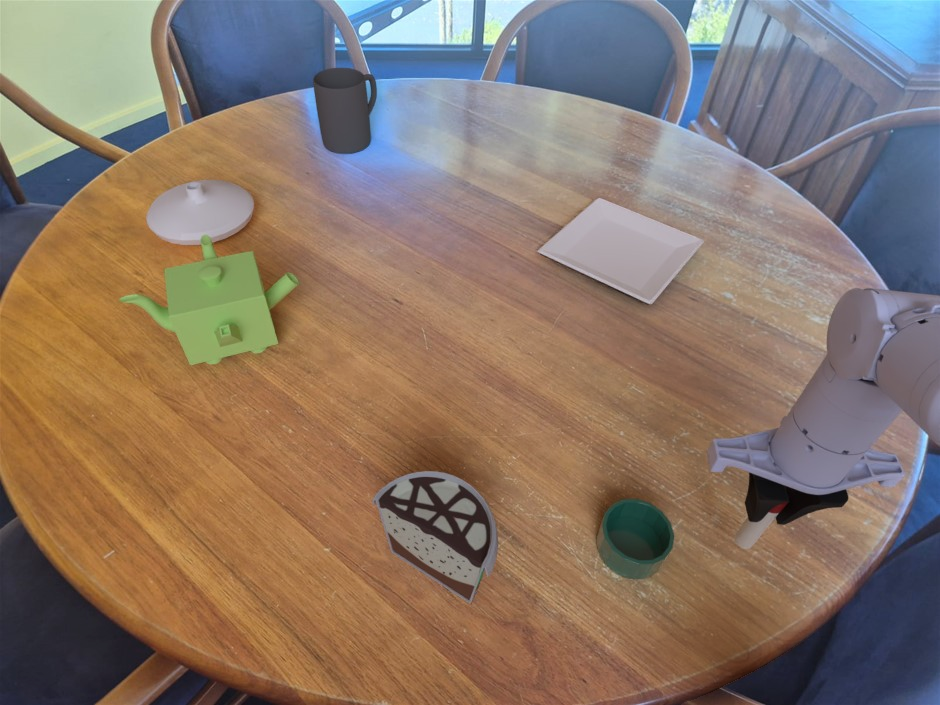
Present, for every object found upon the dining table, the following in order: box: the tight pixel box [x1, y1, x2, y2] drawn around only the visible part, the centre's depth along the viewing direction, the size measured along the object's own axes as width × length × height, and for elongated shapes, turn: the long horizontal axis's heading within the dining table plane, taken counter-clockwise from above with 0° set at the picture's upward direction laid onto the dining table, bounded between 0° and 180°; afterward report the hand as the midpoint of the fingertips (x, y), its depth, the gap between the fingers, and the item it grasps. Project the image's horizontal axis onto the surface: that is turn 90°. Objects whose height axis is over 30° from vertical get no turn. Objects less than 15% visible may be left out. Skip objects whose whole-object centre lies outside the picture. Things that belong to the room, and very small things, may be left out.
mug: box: [312, 67, 378, 155], centre depth 113 cm, size 14×9×12 cm
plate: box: [537, 197, 705, 306], centre depth 94 cm, size 19×19×2 cm
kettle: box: [118, 235, 300, 366], centre depth 77 cm, size 15×14×11 cm
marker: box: [733, 494, 789, 550], centre depth 57 cm, size 2×2×8 cm
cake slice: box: [371, 470, 499, 605], centre depth 58 cm, size 12×6×10 cm, turn 58°
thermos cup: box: [596, 498, 676, 580], centre depth 61 cm, size 7×7×4 cm
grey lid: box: [145, 179, 255, 246], centre depth 95 cm, size 16×16×7 cm
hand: (764, 513), depth 56 cm, fingers closed on marker, 2 cm apart
